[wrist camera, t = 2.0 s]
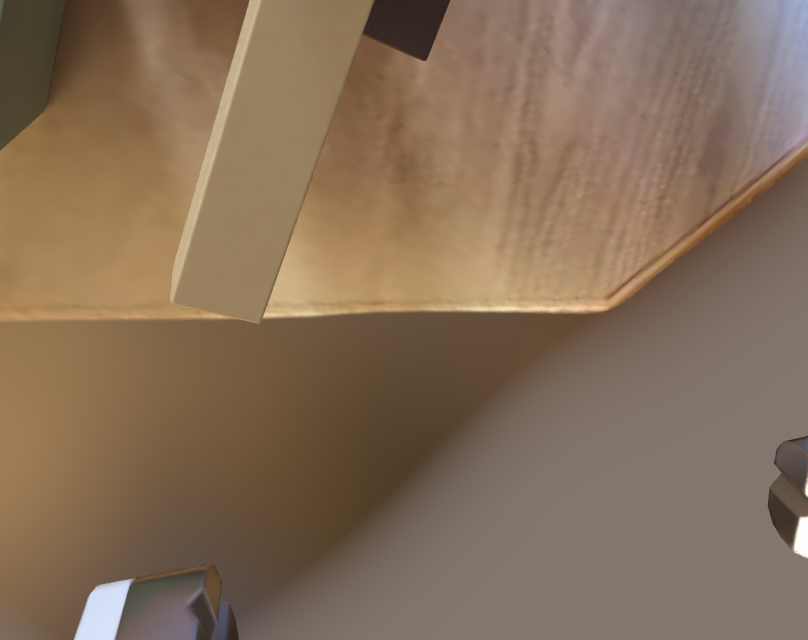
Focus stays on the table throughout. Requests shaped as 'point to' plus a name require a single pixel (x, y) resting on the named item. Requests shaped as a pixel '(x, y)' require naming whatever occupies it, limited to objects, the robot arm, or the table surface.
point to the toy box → (26, 60)
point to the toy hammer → (264, 151)
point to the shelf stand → (406, 24)
